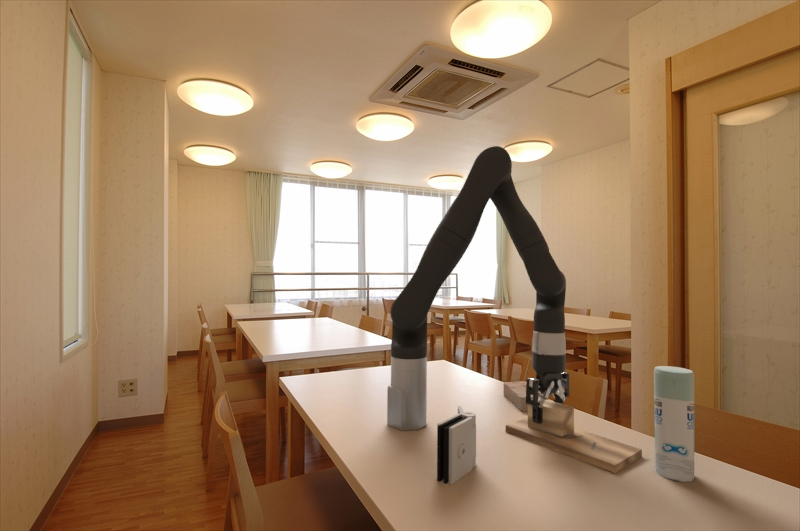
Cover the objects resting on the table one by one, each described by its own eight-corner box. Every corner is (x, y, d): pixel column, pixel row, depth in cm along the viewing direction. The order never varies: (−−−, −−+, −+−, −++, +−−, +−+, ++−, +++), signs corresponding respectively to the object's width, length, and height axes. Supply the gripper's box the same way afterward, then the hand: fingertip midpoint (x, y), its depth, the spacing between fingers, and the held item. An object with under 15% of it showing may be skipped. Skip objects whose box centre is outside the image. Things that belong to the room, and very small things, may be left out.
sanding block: (562, 438, 91) (561, 411, 91) (527, 426, 98) (527, 401, 98) (574, 433, 94) (573, 407, 94) (539, 422, 101) (539, 397, 101)
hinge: (457, 452, 87) (458, 405, 87) (482, 457, 85) (482, 409, 85) (433, 481, 75) (434, 425, 75) (461, 488, 72) (462, 431, 73)
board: (615, 473, 78) (614, 464, 78) (505, 431, 99) (505, 424, 99) (642, 456, 85) (641, 449, 86) (534, 421, 106) (534, 415, 106)
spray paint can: (696, 485, 74) (695, 375, 74) (654, 476, 77) (653, 370, 78) (693, 471, 79) (692, 368, 80) (654, 463, 83) (653, 364, 83)
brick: (550, 412, 114) (550, 395, 114) (521, 412, 113) (521, 395, 113) (527, 395, 130) (527, 381, 130) (502, 395, 130) (502, 381, 130)
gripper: (551, 345, 104) (551, 409, 103) (516, 350, 95) (516, 420, 95) (579, 350, 98) (579, 418, 97) (545, 356, 89) (544, 430, 89)
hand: (548, 419), depth 96 cm, fingers open, 8 cm apart
